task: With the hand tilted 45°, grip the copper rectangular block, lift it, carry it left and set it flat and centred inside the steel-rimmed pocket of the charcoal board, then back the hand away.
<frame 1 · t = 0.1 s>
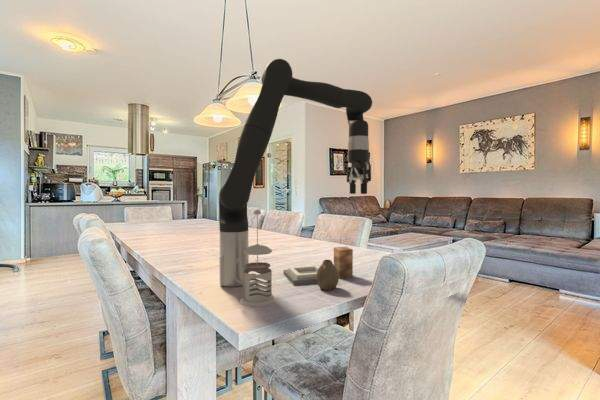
hand: (358, 193, 114), 29 cm above the table, tool pointing down, fingers open, 8 cm apart
vase: (327, 289, 96), on the table
copper rectangular block: (343, 276, 110), on the table
french press: (254, 300, 86), on the table
pocket board: (307, 277, 108), on the table
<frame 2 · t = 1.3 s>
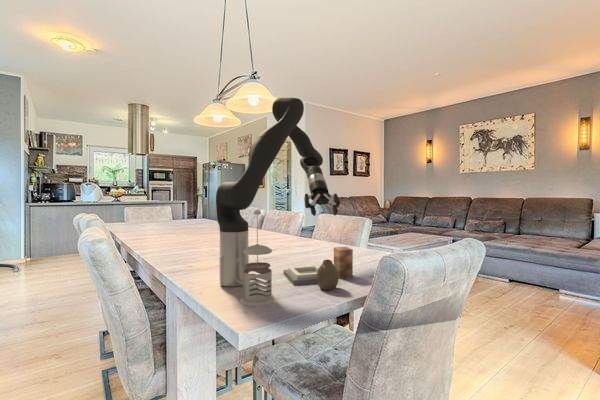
hand: (325, 214, 123), 21 cm above the table, tool tilted 45°, fingers open, 8 cm apart
nothing on the table moved.
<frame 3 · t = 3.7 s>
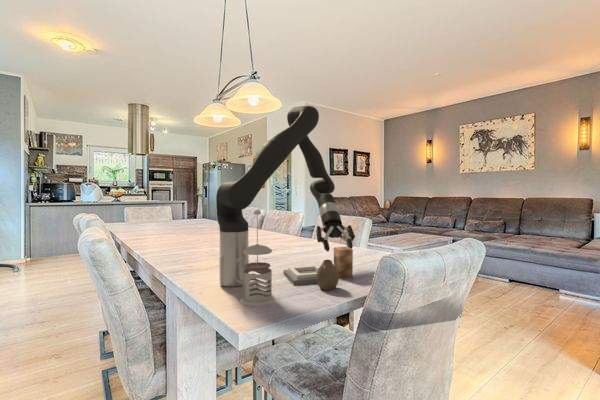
hand: (339, 249, 113), 9 cm above the table, tool tilted 45°, fingers open, 8 cm apart
nothing on the table moved.
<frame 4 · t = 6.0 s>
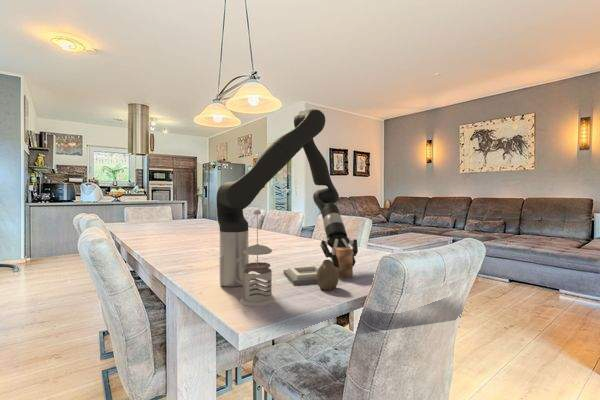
hand: (344, 265, 108), 4 cm above the table, tool tilted 45°, fingers closed on copper rectangular block, 5 cm apart
copper rectangular block: (343, 276, 110), on the table, touching gripper
everything else where it was.
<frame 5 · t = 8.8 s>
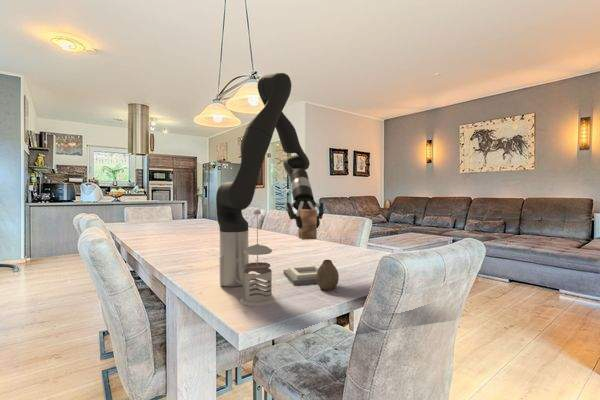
hand: (308, 226, 106), 18 cm above the table, tool tilted 45°, fingers closed on copper rectangular block, 5 cm apart
copper rectangular block: (307, 238, 108), point 14 cm above the table, touching gripper
everything else where it was.
when the fingers open (7 cm above the table, at t = 11.7 s): copper rectangular block drops 1 cm, resting on pocket board.
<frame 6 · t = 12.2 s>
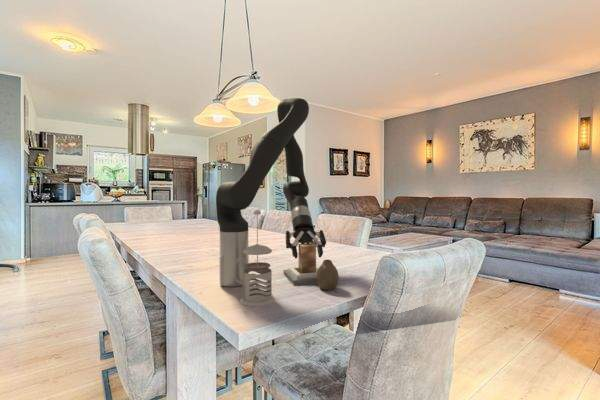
hand: (308, 256, 106), 8 cm above the table, tool tilted 45°, fingers open, 8 cm apart
copper rectangular block: (307, 273, 108), point 1 cm above the table, touching pocket board
everything else where it was.
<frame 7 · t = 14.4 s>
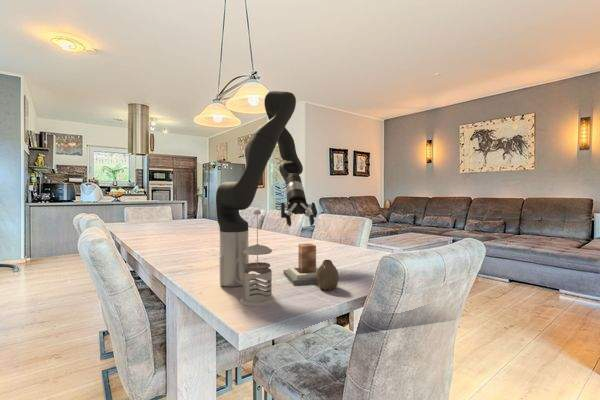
hand: (301, 224, 119), 17 cm above the table, tool tilted 45°, fingers open, 8 cm apart
nothing on the table moved.
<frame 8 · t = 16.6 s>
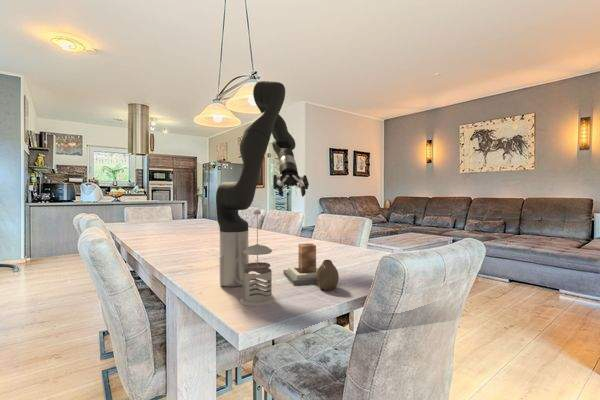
hand: (292, 195, 122), 29 cm above the table, tool tilted 45°, fingers open, 8 cm apart
nothing on the table moved.
at the end: copper rectangular block 0.2 cm off-centre on the pocket board, point 1.5 cm above the pocket board's base; copper rectangular block tilted 0°; the gripper is holding nothing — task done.
